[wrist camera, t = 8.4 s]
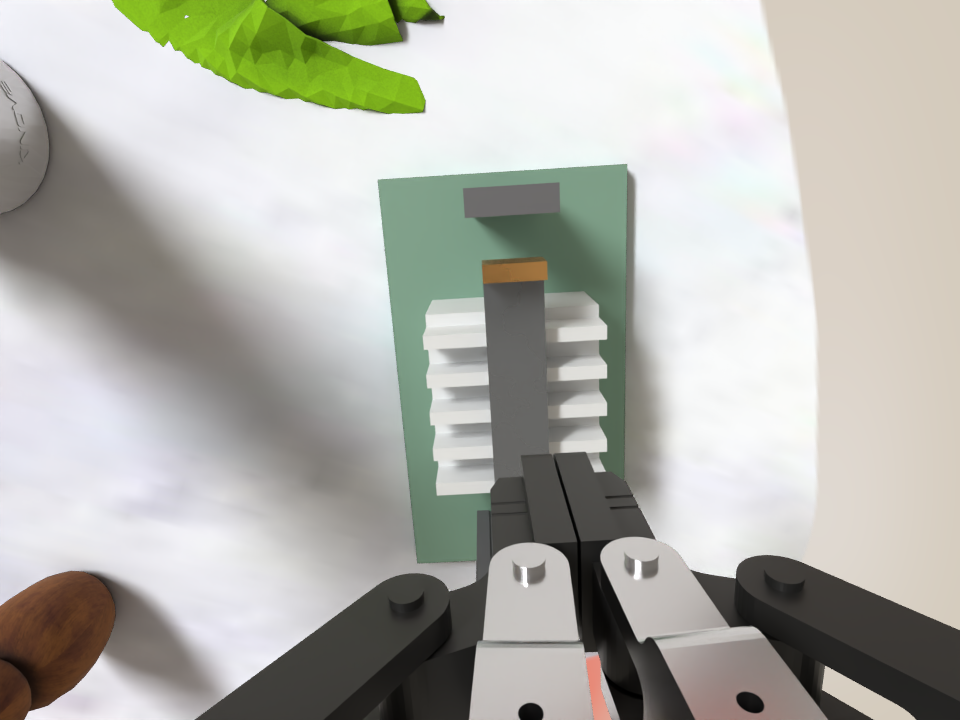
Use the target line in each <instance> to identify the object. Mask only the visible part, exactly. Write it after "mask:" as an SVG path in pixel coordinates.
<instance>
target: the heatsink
mask: <svg viewBox="0 0 960 720" xmlns="http://www.w3.org/2000/svg"><path fill="white" fill-rule="evenodd" d="M378 188H379V197H380V207H381V217H382V226H383V236H384V245H385V255H386V265H387V274H388V284H389V294H390V303H391V313H392V323H393V332H394V342H395V352H396V361H397V371H398V381H399V390H400V400H401V410H402V419H403V429H404V439H405V448H406V458H407V468H408V477H409V487H410V497H411V506H412V516H413V526H414V535H415V545H416V555H417V563H436V562H455V561H475V560H477V561H476V582H477V581H478V580H480V579H481V578H482V577H483V576H485V575H486V573H487V572H488V571H489V565H490V562H491V560H492V558H493V541H492V518H491V496H490V489H491V488H492V487H493V485H494V484H495V480H494V463H493V446H492V428H491V411H490V394H489V377H488V360H487V343H486V326H485V308H484V291H483V276H482V260H495V259H511V258H528V257H543V258H544V259H545V260H546V261H547V275H548V280H544V296H545V330H546V364H547V399H548V433H549V454H552V456H553V454H554V453H569V452H586V453H587V456H588V458H589V460H590V463H591V465H592V467H593V470H594V472H608V471H611V472H613V473H614V474H615V475H617V476H618V477H620V478H621V479H623V480H624V433H625V333H626V233H627V164H620V165H604V166H588V167H572V168H556V169H540V170H524V171H509V172H493V173H477V174H461V175H445V176H429V177H413V178H397V179H381V180H378Z"/></svg>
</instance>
